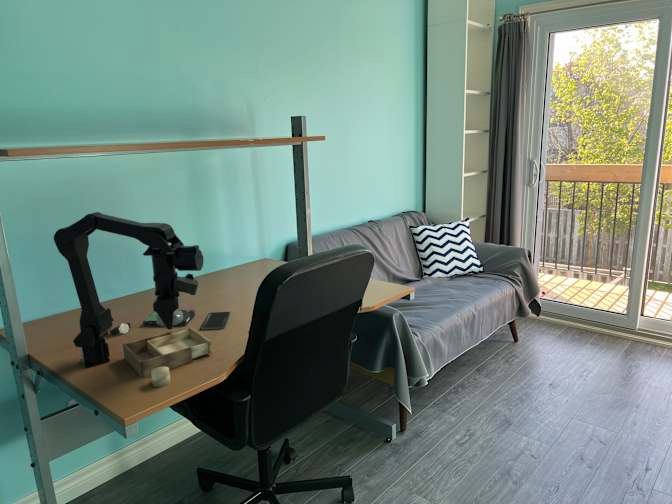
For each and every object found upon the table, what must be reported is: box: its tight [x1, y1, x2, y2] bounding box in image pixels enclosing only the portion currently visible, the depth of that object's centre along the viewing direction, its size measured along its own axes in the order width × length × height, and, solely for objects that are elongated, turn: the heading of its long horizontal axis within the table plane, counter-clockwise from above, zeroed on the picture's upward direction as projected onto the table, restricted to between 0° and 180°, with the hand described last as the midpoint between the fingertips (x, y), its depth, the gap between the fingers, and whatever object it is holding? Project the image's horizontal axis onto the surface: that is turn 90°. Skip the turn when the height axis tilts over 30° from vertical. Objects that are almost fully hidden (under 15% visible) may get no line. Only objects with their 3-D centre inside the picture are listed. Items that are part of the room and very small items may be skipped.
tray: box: [147, 326, 213, 359], centre depth 147 cm, size 15×15×4 cm
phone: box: [200, 311, 231, 331], centre depth 172 cm, size 8×1×15 cm
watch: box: [109, 322, 132, 336], centre depth 165 cm, size 8×5×4 cm, turn 158°
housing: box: [122, 331, 194, 379], centre depth 143 cm, size 14×16×4 cm
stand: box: [151, 366, 171, 388], centre depth 130 cm, size 4×4×4 cm
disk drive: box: [142, 309, 196, 328], centre depth 174 cm, size 10×3×15 cm
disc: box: [156, 309, 183, 327], centre depth 139 cm, size 7×7×2 cm
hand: (170, 324), depth 139 cm, fingers closed on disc, 7 cm apart
